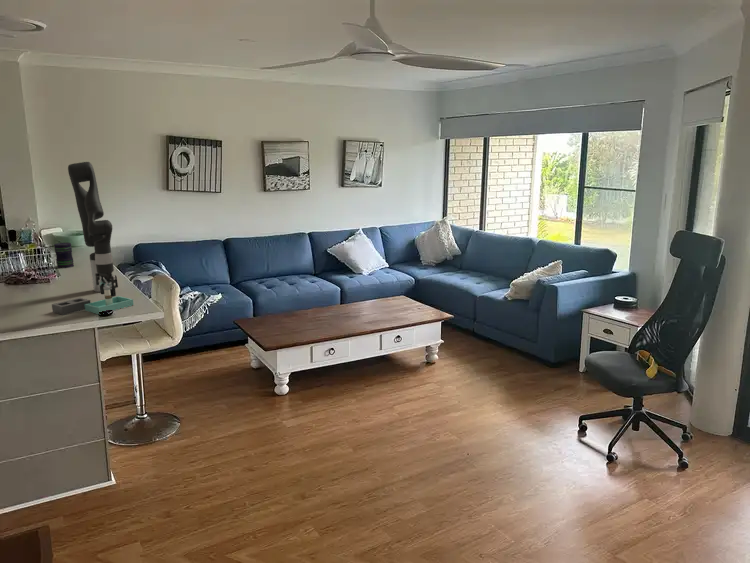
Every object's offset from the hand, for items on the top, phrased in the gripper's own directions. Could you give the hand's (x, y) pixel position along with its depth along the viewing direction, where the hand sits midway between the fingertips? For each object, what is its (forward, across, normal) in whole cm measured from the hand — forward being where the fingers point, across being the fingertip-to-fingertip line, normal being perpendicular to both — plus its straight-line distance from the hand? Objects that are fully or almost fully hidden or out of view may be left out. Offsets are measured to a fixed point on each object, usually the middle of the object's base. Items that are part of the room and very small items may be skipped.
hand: (108, 295), depth 290 cm
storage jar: (+7, +115, -42) cm, 123 cm away
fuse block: (+6, +12, +12) cm, 18 cm away
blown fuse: (+6, 0, 0) cm, 6 cm away
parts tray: (+6, 0, 0) cm, 6 cm away
